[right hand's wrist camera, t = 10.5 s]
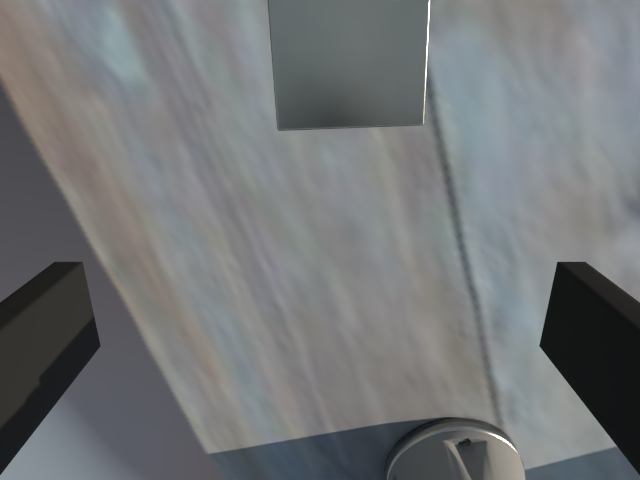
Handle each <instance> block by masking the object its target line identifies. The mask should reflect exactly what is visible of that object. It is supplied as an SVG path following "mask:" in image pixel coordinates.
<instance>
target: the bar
mask: <svg viewBox="0 0 640 480" xmlns="http://www.w3.org/2000/svg"><path fill="white" fill-rule="evenodd" d="M268 11H269V24H270V38H271V51H272V64H273V78H274V91H275V105H276V118H277V129H278V130H279V131H288V130H313V129H339V128H365V127H390V126H416V125H424V121H425V100H426V80H427V60H428V40H429V19H430V0H268Z"/></svg>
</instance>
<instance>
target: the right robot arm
mask: <svg viewBox="0 0 640 480" xmlns="http://www.w3.org/2000/svg"><path fill="white" fill-rule="evenodd" d="M99 347H100V342H99V337H98V332H97V328H96V323H95V318H94V314H93V309H92V304H91V300H90V295H89V290H88V286H87V281H86V276H85V272H84V267H83V263H82V262H54V263H53V264H51V265H50V266H49V267H47V268H46V269H45V270H43V271H42V272H41V273H39V274H38V275H37V276H35V277H34V278H33V279H31V280H30V281H29V282H27V283H26V284H25V285H23V286H22V287H21V288H19V289H18V290H17V291H15V292H14V293H13V294H11V295H10V296H9V297H7V298H6V299H4V300H3V301H2V302H0V475H1V473H2V472H3V471H4V470H5V468H6V467H7V466H8V464H9V463H10V462H11V460H12V459H13V458H14V457H15V455H16V454H17V453H18V451H19V450H20V449H21V448H22V446H23V445H24V444H25V442H26V441H27V440H28V439H29V437H30V436H31V435H32V434H33V432H34V431H35V430H36V428H37V427H38V426H39V425H40V423H41V422H42V421H43V419H44V418H45V417H46V415H47V414H48V413H49V412H50V410H51V409H52V408H53V406H54V405H55V404H56V403H57V401H58V400H59V399H60V397H61V396H62V395H63V394H64V392H65V391H66V390H67V388H68V387H69V386H70V385H71V383H72V382H73V381H74V379H75V378H76V377H77V376H78V374H79V373H80V372H81V370H82V369H83V368H84V366H85V365H86V364H87V363H88V361H89V360H90V359H91V358H92V356H93V355H94V354H95V352H96V351H97V350H98V349H99ZM540 347H541V349H542V350H543V351H544V352H545V354H546V355H547V356H548V358H549V359H550V360H551V361H552V363H553V364H554V365H555V367H556V368H557V369H558V370H559V372H560V373H561V374H562V376H563V377H564V378H565V379H566V381H567V382H568V383H569V385H570V386H571V387H572V388H573V390H574V391H575V392H576V394H577V395H578V396H579V397H580V399H581V400H582V401H583V403H584V404H585V405H586V406H587V408H588V409H589V410H590V412H591V413H592V414H593V416H594V417H595V418H596V419H597V421H598V422H599V423H600V425H601V426H602V427H603V428H604V430H605V431H606V432H607V434H608V435H609V436H610V437H611V439H612V440H613V441H614V443H615V444H616V445H617V446H618V448H619V449H620V450H621V452H622V453H623V454H624V455H625V457H626V458H627V459H628V461H629V462H630V463H631V464H632V466H633V467H634V468H635V470H636V471H637V472H638V473H639V475H640V302H638V301H637V300H636V299H634V298H633V297H631V296H630V295H629V294H627V293H626V292H625V291H623V290H622V289H621V288H619V287H618V286H617V285H615V284H614V283H613V282H611V281H610V280H609V279H607V278H606V277H605V276H603V275H602V274H601V273H599V272H598V271H597V270H595V269H594V268H593V267H591V266H590V265H589V264H587V263H586V262H557V267H556V272H555V276H554V281H553V286H552V290H551V295H550V300H549V304H548V309H547V314H546V318H545V323H544V327H543V332H542V337H541V341H540ZM385 478H386V480H526V479H525V471H524V466H523V462H522V460H521V457H520V455H519V453H518V451H517V449H516V447H515V445H514V444H513V442H512V441H511V439H510V438H509V437H508V436H507V435H506V434H505V433H504V432H503V431H501V430H500V429H498V428H497V427H495V426H493V425H491V424H488V423H486V422H482V421H479V420H474V419H466V418H452V419H444V420H439V421H435V422H431V423H428V424H426V425H423V426H421V427H419V428H417V429H415V430H413V431H412V432H410V433H408V434H407V435H406V436H404V437H403V438H402V439H401V440H400V441H399V442H398V443H397V444H396V445H395V446H394V448H393V449H392V451H391V452H390V454H389V456H388V459H387V462H386V466H385Z"/></svg>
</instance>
